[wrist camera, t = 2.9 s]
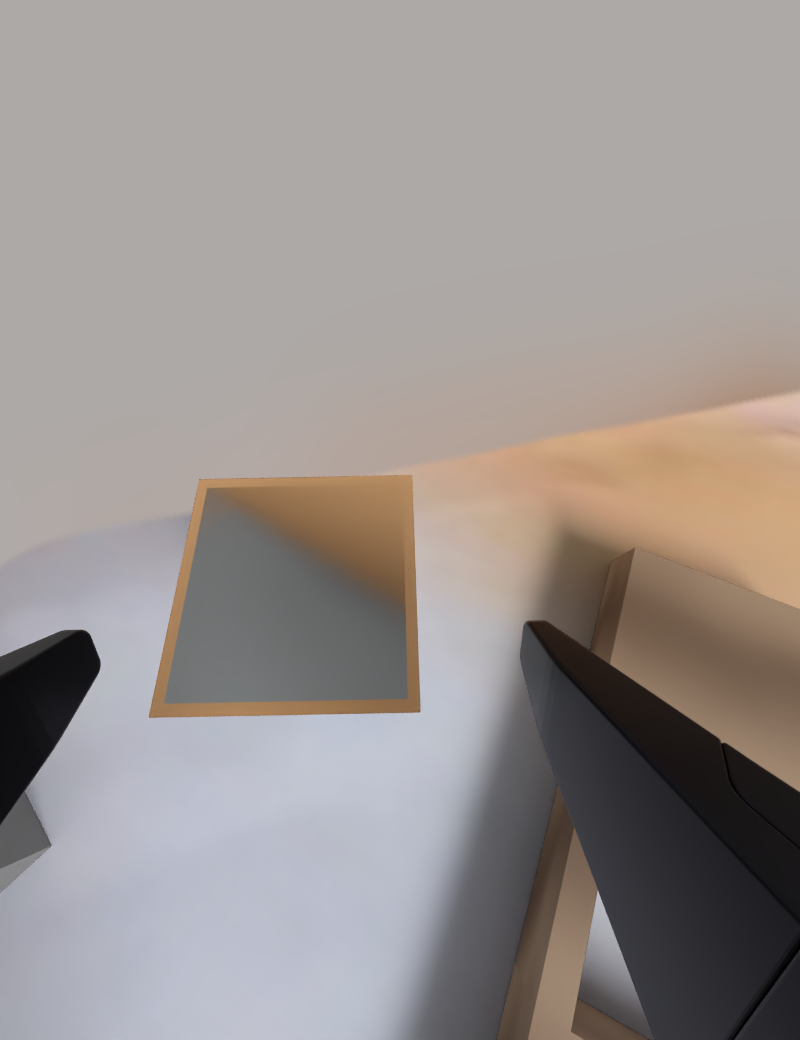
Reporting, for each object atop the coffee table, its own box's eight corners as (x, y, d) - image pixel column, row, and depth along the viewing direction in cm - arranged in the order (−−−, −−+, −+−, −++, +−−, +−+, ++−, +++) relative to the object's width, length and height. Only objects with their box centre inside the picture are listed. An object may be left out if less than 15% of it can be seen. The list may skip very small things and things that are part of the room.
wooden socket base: (770, 1564, 9) (871, 1805, 7) (432, 1305, 10) (438, 1447, 8) (803, 636, 16) (854, 629, 14) (611, 561, 18) (635, 547, 16)
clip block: (410, 697, 15) (420, 712, 6) (300, 699, 15) (148, 717, 6) (407, 588, 17) (412, 475, 8) (308, 590, 17) (199, 479, 8)
